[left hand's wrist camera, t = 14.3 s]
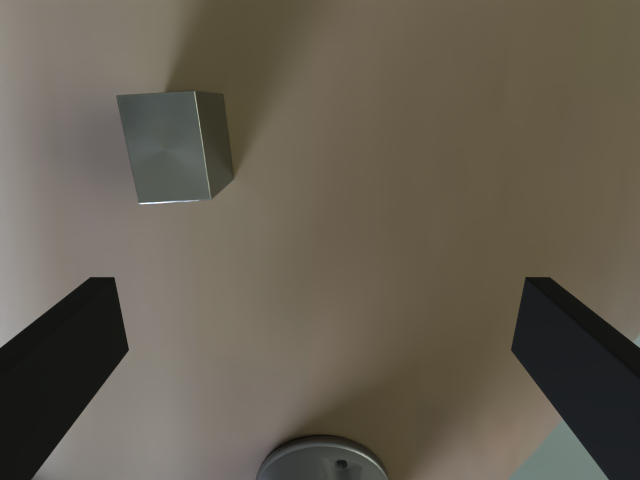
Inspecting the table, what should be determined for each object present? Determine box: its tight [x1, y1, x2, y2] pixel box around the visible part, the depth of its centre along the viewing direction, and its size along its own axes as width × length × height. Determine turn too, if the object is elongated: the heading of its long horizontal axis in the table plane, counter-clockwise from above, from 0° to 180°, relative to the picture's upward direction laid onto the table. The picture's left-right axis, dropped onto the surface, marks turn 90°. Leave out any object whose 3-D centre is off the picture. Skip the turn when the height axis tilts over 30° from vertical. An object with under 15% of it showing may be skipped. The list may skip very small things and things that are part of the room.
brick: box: [116, 91, 234, 204], centre depth 29 cm, size 7×5×8 cm
